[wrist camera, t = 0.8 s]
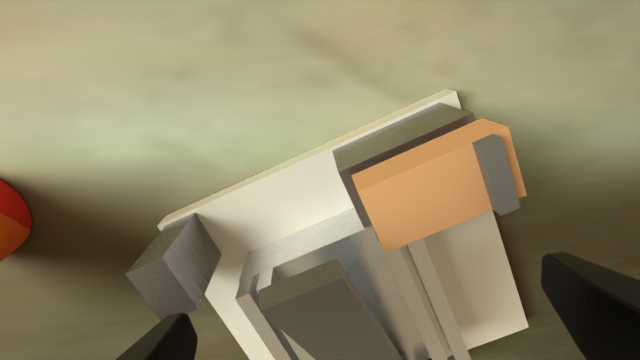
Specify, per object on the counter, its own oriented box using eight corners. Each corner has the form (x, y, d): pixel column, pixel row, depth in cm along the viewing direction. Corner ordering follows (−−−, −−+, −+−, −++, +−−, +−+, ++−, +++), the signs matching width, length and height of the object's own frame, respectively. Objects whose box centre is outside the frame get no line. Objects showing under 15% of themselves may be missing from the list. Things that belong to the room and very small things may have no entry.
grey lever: (373, 399, 22) (377, 413, 21) (258, 289, 12) (259, 311, 11) (418, 383, 21) (423, 397, 21) (337, 257, 12) (342, 277, 11)
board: (289, 397, 28) (288, 415, 26) (166, 215, 22) (157, 225, 21) (516, 312, 26) (528, 327, 25) (445, 88, 20) (455, 91, 19)
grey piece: (285, 400, 26) (281, 476, 21) (165, 225, 21) (124, 274, 16) (510, 317, 24) (559, 379, 19) (439, 102, 19) (484, 116, 14)
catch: (375, 230, 16) (388, 261, 14) (351, 175, 15) (359, 197, 13) (499, 178, 15) (536, 201, 13) (482, 118, 14) (518, 129, 12)
